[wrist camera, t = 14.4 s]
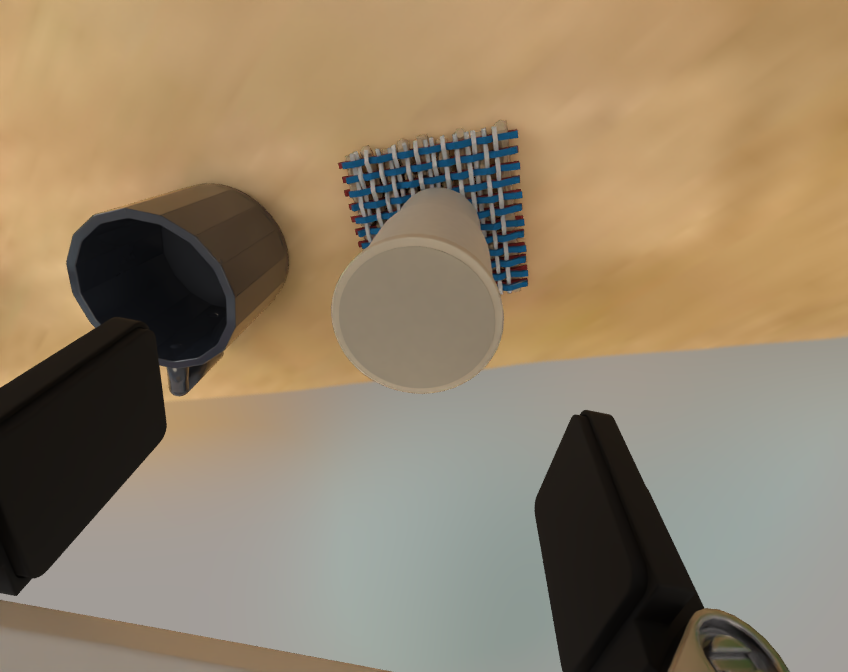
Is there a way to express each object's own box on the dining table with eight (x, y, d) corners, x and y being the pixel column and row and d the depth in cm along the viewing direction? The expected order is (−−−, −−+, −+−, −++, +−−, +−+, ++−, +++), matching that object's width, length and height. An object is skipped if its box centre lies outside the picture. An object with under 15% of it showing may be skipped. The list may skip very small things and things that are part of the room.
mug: (154, 170, 28) (50, 192, 21) (291, 199, 29) (233, 230, 22) (170, 334, 34) (93, 394, 27) (285, 358, 34) (237, 424, 27)
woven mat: (337, 149, 27) (328, 153, 25) (515, 116, 25) (518, 117, 23) (375, 306, 32) (370, 318, 30) (527, 286, 30) (531, 298, 28)
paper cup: (381, 268, 28) (324, 377, 17) (395, 168, 25) (338, 219, 14) (475, 288, 28) (480, 408, 17) (500, 190, 25) (526, 259, 14)
